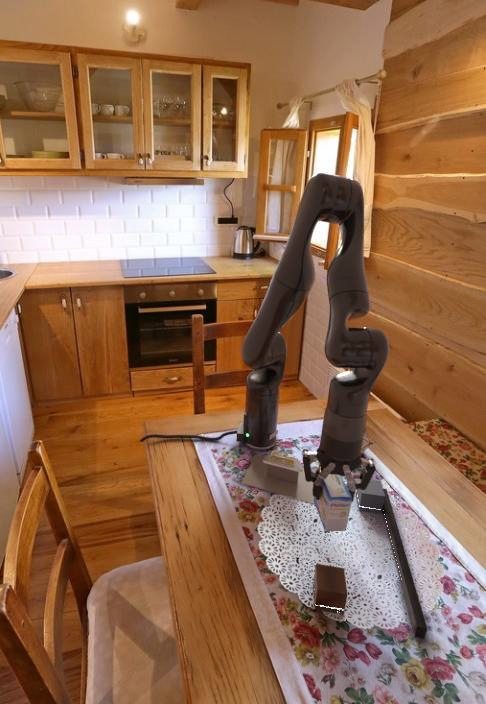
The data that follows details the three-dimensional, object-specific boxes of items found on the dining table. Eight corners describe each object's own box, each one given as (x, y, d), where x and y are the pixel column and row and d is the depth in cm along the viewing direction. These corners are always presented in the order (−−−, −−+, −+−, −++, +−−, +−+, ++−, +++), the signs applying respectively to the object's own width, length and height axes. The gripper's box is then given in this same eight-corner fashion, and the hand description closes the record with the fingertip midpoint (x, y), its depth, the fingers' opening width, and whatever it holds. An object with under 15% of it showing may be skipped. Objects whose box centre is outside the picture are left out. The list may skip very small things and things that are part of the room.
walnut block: (314, 609, 71) (317, 589, 70) (313, 583, 76) (315, 563, 74) (343, 615, 70) (347, 594, 69) (340, 587, 75) (344, 568, 73)
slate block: (358, 510, 93) (361, 493, 91) (355, 494, 97) (358, 477, 96) (381, 513, 92) (385, 496, 90) (377, 497, 97) (380, 480, 95)
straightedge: (414, 637, 67) (417, 626, 66) (378, 496, 97) (379, 487, 96) (424, 639, 67) (427, 628, 66) (385, 497, 97) (386, 488, 96)
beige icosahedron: (354, 459, 115) (374, 431, 115) (362, 470, 107) (384, 439, 106) (328, 441, 116) (348, 412, 116) (333, 449, 107) (355, 418, 107)
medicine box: (312, 501, 87) (317, 468, 84) (333, 500, 87) (338, 468, 84) (324, 532, 79) (330, 497, 76) (346, 531, 80) (353, 497, 77)
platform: (255, 454, 111) (256, 433, 109) (322, 471, 105) (324, 450, 103) (241, 483, 100) (242, 461, 98) (314, 504, 94) (317, 481, 92)
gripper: (379, 421, 78) (366, 491, 84) (304, 412, 80) (295, 480, 86) (387, 446, 71) (371, 520, 77) (304, 434, 74) (295, 507, 79)
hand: (331, 498), depth 82 cm, fingers closed on medicine box, 5 cm apart
